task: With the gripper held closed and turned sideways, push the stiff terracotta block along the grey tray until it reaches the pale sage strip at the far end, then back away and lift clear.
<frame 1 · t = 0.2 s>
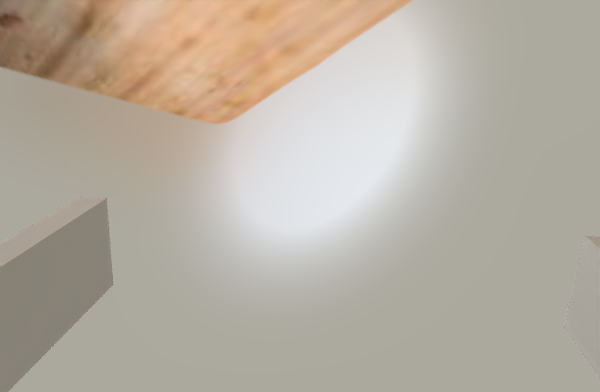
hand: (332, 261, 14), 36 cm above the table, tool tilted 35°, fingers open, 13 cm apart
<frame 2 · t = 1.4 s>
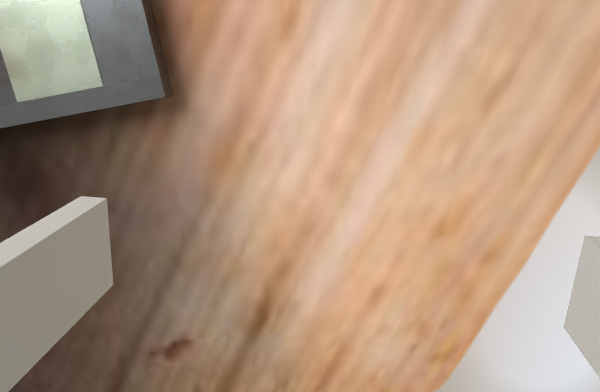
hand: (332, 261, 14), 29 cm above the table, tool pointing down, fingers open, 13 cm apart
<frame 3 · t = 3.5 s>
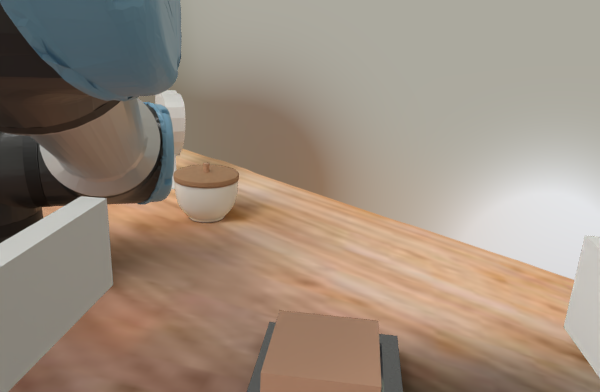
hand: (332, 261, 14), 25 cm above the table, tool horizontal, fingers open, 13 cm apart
lidded jar: (206, 217, 87), on the table
heart sculpture: (171, 180, 106), on the table
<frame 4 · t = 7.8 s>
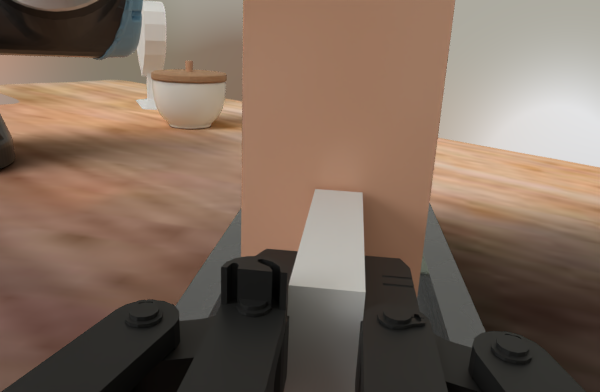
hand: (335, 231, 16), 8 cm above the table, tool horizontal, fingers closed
lidded jar: (190, 126, 76), on the table
grey tray: (331, 294, 28), on the table
heart sculpture: (152, 105, 95), on the table
terracotta block: (335, 195, 19), point 8 cm above the table, slide at 0.1 cm, touching gripper
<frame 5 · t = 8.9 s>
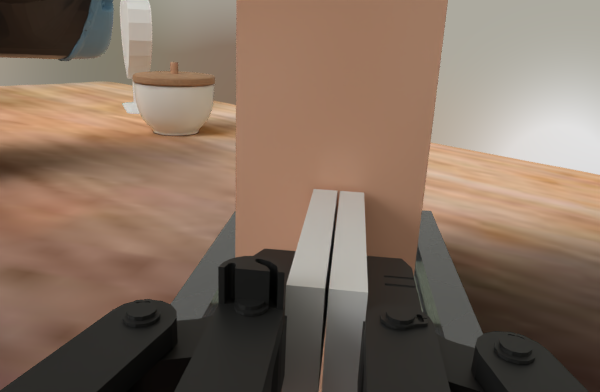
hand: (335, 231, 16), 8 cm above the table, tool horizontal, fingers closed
lidded jar: (176, 133, 71), on the table
grey tray: (321, 353, 23), on the table
heart sculpture: (139, 108, 90), on the table
terracotta block: (330, 192, 19), point 8 cm above the table, slide at 5.8 cm, touching gripper
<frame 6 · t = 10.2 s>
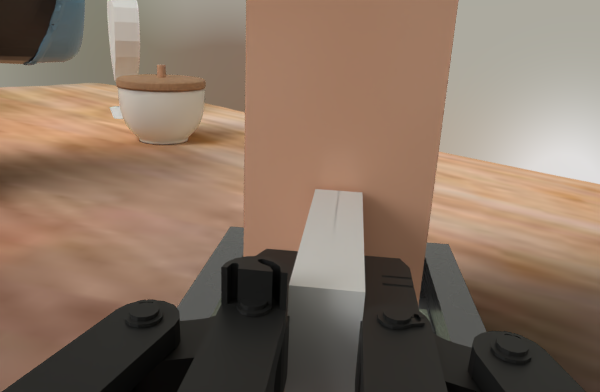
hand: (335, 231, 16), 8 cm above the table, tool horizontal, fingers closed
lidded jar: (164, 141, 66), on the table
heart sculpture: (127, 113, 85), on the table
terracotta block: (337, 197, 19), point 8 cm above the table, slide at 11.2 cm, touching gripper
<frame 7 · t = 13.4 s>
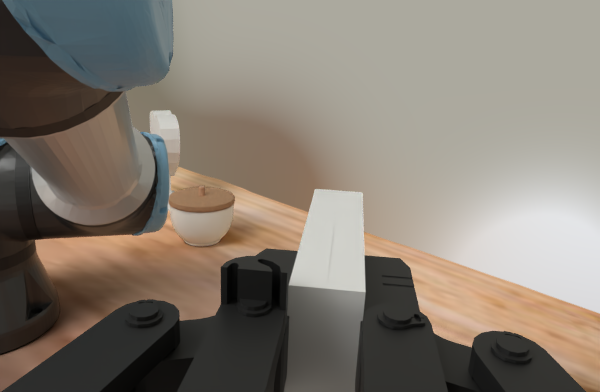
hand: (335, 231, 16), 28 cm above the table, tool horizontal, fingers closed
lidded jar: (202, 240, 86), on the table
heart sculpture: (166, 200, 105), on the table
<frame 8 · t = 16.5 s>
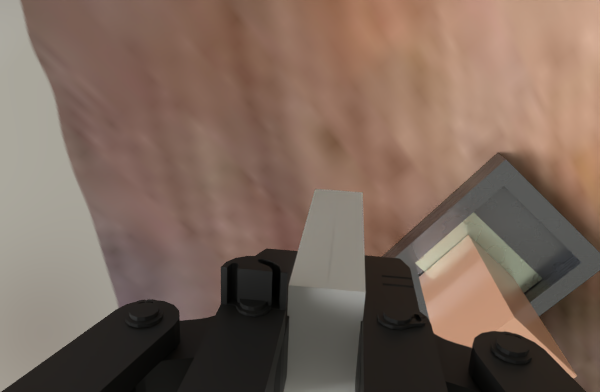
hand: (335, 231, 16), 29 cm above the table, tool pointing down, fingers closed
grey tray: (429, 301, 49), on the table
terracotta block: (483, 317, 40), point 8 cm above the table, slide at 11.3 cm
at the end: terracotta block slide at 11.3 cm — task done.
